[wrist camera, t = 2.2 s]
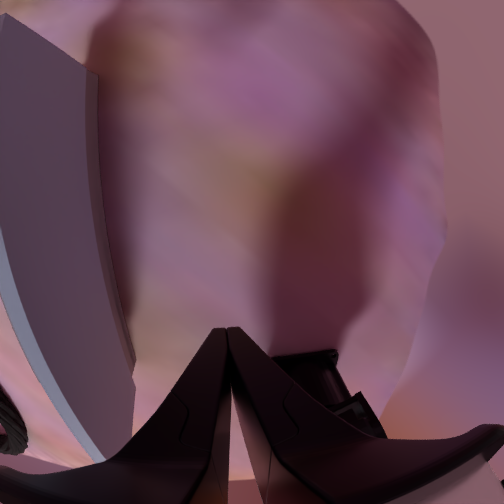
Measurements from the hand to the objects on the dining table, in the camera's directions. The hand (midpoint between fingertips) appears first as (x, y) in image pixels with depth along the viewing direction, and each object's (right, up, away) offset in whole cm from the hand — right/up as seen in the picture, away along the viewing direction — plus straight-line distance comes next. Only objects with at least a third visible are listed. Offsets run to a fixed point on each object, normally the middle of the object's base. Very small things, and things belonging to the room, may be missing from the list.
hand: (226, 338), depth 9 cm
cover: (-8, +1, +2) cm, 8 cm away
